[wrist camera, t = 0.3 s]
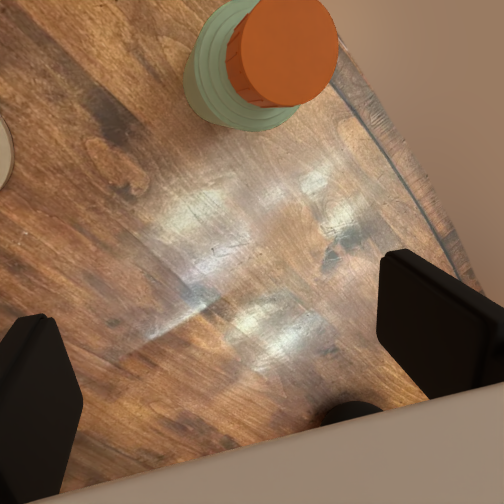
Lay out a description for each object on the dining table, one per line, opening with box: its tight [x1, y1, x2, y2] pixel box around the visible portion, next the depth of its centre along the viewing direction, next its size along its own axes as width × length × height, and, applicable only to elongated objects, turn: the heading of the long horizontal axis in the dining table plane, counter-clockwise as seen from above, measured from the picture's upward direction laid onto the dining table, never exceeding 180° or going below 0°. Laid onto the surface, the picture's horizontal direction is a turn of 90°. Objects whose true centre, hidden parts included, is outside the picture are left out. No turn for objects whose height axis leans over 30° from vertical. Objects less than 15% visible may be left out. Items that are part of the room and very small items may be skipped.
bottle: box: [183, 0, 301, 132], centre depth 22 cm, size 6×6×18 cm
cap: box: [225, 0, 338, 108], centre depth 15 cm, size 4×4×4 cm
